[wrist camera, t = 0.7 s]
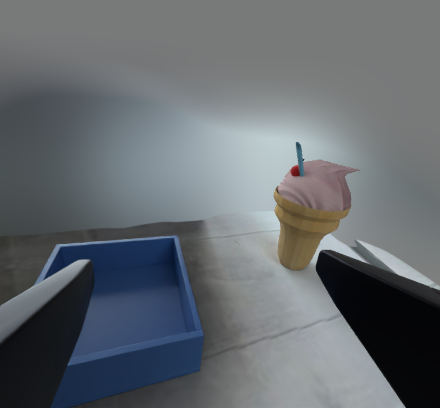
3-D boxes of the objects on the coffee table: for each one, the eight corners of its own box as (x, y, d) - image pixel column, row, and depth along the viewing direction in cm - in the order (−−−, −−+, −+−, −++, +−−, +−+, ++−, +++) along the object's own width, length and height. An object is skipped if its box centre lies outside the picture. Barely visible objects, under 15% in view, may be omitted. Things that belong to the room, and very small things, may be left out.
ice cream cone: (298, 295, 32) (345, 154, 24) (247, 253, 40) (270, 136, 32) (338, 271, 38) (386, 152, 30) (287, 238, 46) (315, 138, 38)
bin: (200, 371, 21) (203, 335, 19) (-2, 427, 16) (-25, 387, 14) (176, 262, 35) (177, 235, 33) (63, 275, 30) (56, 244, 28)
